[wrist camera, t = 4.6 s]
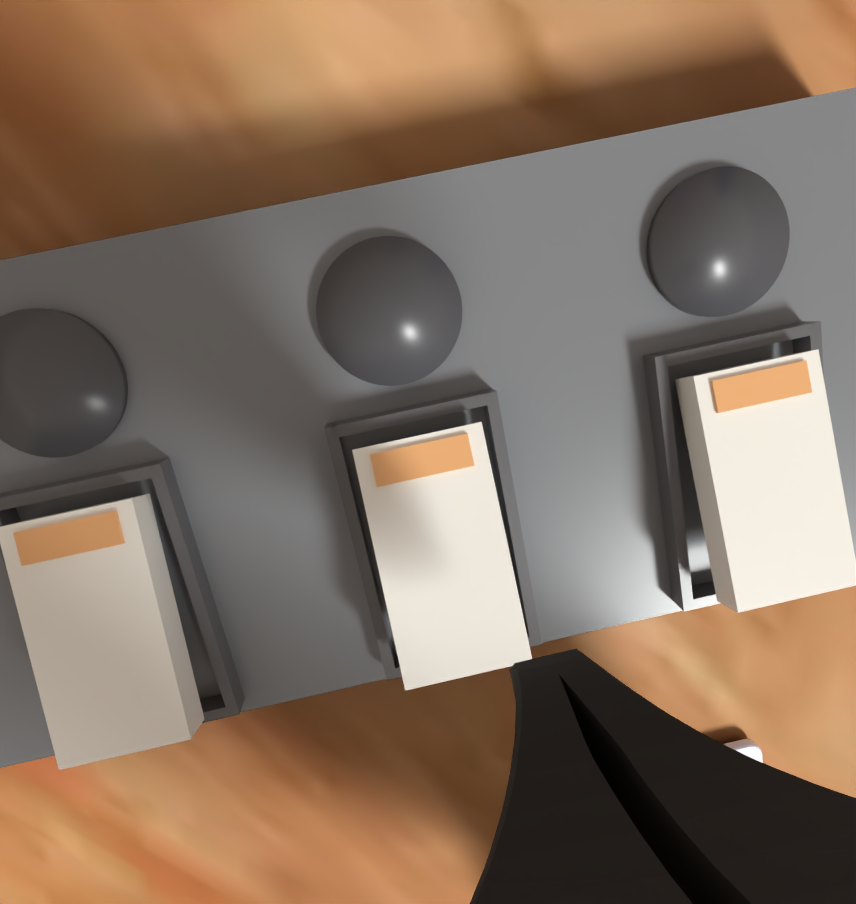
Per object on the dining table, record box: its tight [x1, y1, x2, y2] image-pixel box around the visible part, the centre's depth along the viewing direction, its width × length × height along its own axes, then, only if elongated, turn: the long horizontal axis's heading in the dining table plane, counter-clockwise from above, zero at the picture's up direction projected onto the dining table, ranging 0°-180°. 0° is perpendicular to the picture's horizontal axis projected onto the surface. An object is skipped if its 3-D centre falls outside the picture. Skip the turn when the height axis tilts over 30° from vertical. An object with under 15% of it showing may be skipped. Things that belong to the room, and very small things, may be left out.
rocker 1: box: [0, 494, 204, 770], centre depth 15 cm, size 6×3×1 cm, turn 11°
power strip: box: [0, 88, 856, 768], centre depth 17 cm, size 13×35×4 cm, turn 102°
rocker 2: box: [675, 349, 856, 613], centre depth 15 cm, size 6×3×1 cm, turn 11°
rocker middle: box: [352, 422, 532, 691], centre depth 15 cm, size 6×3×1 cm, turn 11°
